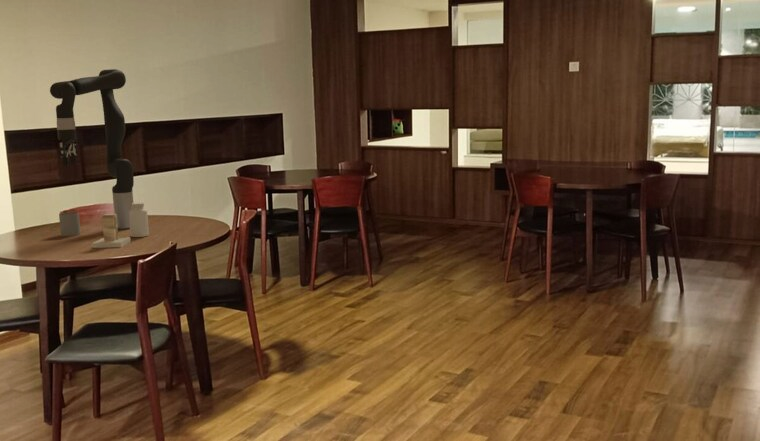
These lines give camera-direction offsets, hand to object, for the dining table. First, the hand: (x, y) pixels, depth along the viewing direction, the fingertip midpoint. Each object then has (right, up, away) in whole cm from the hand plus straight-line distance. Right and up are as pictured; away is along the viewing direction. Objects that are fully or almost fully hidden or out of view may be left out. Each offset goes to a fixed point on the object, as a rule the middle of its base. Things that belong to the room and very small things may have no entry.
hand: (69, 165), depth 334 cm
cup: (-7, -31, +17) cm, 36 cm away
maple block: (+22, -33, -11) cm, 41 cm away
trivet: (+22, -35, -10) cm, 43 cm away
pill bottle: (+28, -32, +9) cm, 43 cm away
